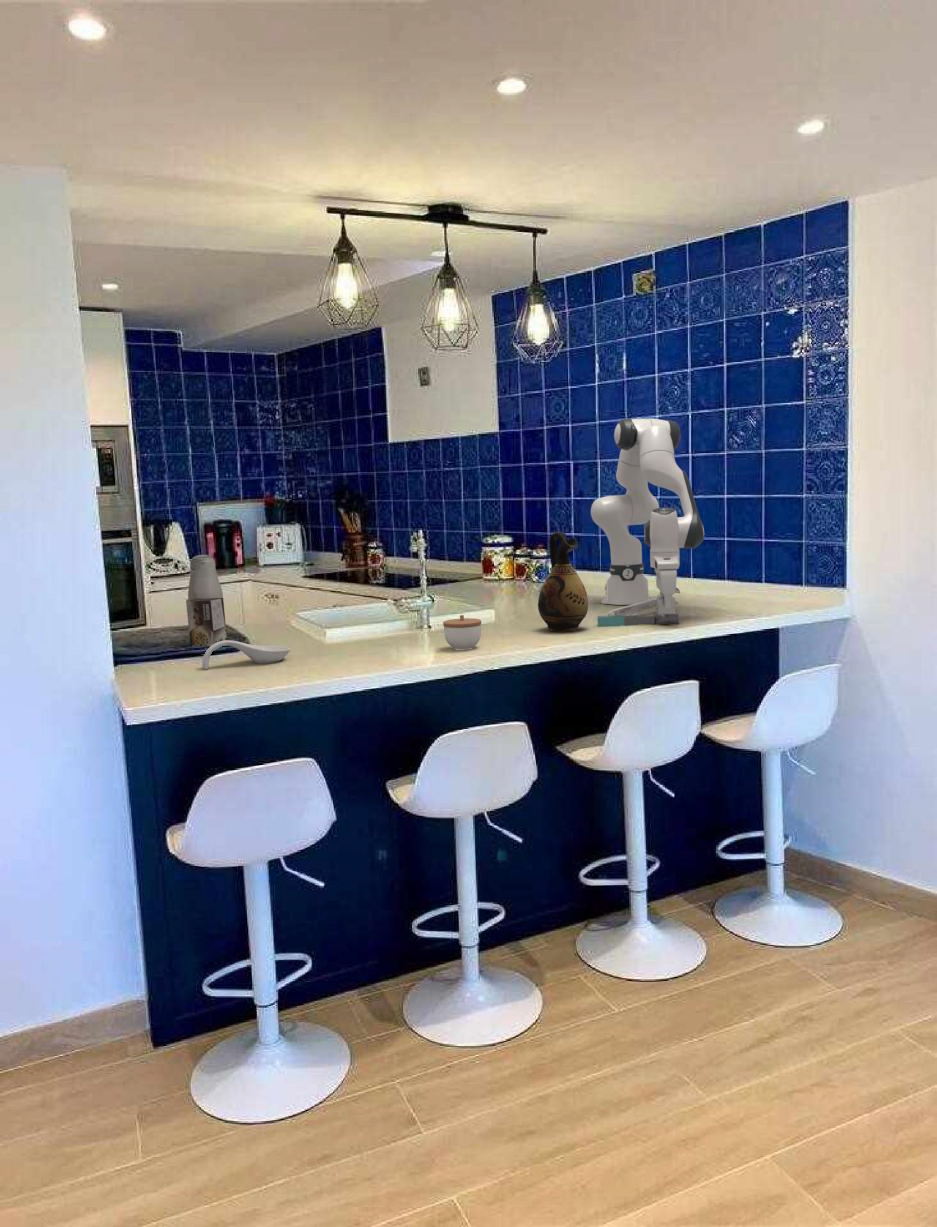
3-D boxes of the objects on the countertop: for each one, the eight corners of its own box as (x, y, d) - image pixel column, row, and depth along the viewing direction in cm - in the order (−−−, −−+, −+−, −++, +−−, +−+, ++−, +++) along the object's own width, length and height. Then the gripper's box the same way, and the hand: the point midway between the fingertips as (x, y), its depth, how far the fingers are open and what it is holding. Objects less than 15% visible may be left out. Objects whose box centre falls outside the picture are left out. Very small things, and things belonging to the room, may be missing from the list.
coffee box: (229, 651, 285) (224, 597, 283) (215, 655, 279) (210, 600, 277) (203, 650, 288) (199, 597, 286) (190, 654, 282) (185, 600, 280)
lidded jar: (485, 644, 274) (483, 612, 273) (478, 651, 264) (477, 617, 263) (448, 645, 276) (447, 613, 275) (440, 651, 266) (439, 618, 265)
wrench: (608, 628, 313) (678, 607, 326) (612, 628, 311) (682, 608, 325) (605, 604, 311) (676, 584, 325) (609, 604, 310) (679, 585, 323)
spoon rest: (284, 656, 273) (282, 631, 272) (295, 662, 262) (293, 636, 261) (199, 666, 263) (197, 641, 262) (207, 673, 252) (205, 646, 251)
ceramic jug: (599, 629, 291) (596, 530, 287) (556, 635, 284) (553, 534, 280) (567, 623, 306) (564, 529, 302) (526, 629, 299) (522, 532, 295)
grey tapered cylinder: (201, 641, 307) (193, 553, 303) (231, 640, 305) (224, 552, 302) (187, 646, 298) (179, 556, 294) (218, 646, 296) (210, 555, 292)
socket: (656, 612, 299) (656, 596, 299) (673, 612, 299) (672, 596, 298) (658, 615, 294) (658, 598, 294) (675, 614, 294) (674, 598, 293)
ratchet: (597, 623, 303) (596, 604, 302) (677, 620, 301) (677, 601, 300) (598, 627, 295) (597, 608, 294) (681, 624, 293) (680, 605, 292)
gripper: (651, 558, 305) (652, 601, 307) (657, 564, 285) (658, 610, 287) (671, 557, 304) (672, 601, 306) (679, 563, 284) (680, 609, 286)
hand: (665, 605), depth 296 cm, fingers open, 8 cm apart
